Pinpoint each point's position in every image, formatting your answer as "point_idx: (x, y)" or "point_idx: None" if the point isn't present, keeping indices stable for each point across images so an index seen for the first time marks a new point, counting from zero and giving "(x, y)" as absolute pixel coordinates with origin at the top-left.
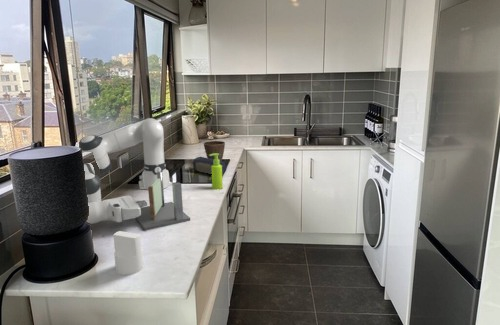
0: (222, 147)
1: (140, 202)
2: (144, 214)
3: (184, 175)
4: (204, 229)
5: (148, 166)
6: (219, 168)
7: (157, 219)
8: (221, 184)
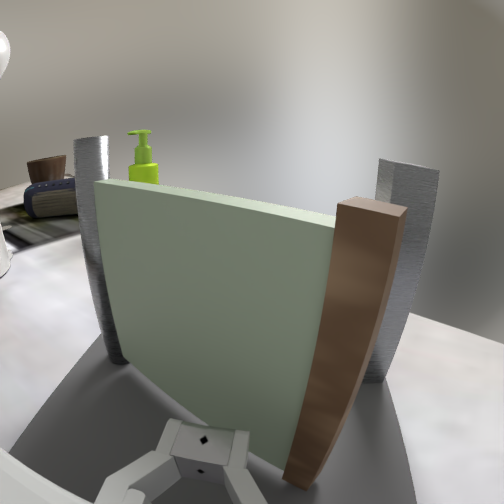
0: (64, 163)
1: (167, 470)
2: None
3: (16, 231)
4: (460, 337)
5: None
6: (157, 169)
7: None
8: None
